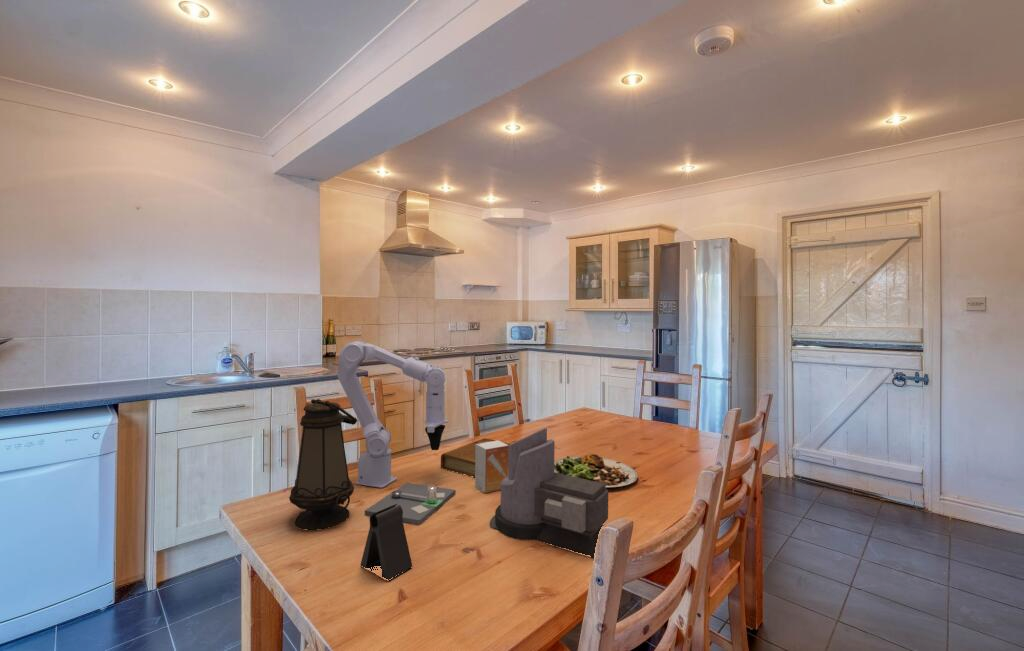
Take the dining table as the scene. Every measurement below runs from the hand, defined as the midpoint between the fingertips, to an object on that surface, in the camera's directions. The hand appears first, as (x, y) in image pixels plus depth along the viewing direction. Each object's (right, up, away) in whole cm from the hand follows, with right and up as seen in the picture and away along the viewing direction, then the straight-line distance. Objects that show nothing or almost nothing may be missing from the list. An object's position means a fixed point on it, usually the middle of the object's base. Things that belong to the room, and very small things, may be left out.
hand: (435, 449), depth 138 cm
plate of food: (+50, -10, +5) cm, 51 cm away
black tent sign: (-2, -11, -48) cm, 49 cm away
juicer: (+33, -11, -32) cm, 47 cm away
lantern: (-24, -10, -27) cm, 37 cm away
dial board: (-3, -10, -18) cm, 21 cm away
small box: (+18, -10, -6) cm, 21 cm away
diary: (+14, -10, +14) cm, 22 cm away
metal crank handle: (-3, -8, -18) cm, 20 cm away
